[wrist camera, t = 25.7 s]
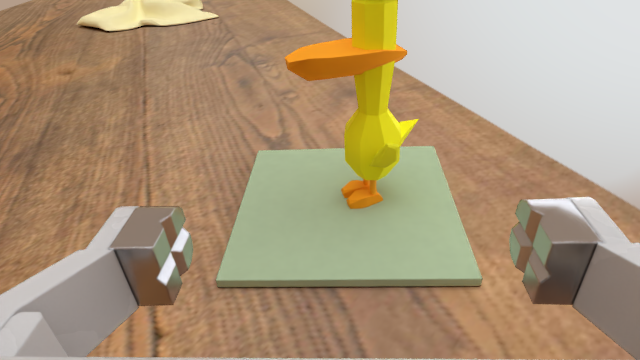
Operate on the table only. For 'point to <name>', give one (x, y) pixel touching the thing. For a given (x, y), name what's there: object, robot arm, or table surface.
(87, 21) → the cloth
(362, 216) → the felt mat
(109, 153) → the table surface
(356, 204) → the toy figure
